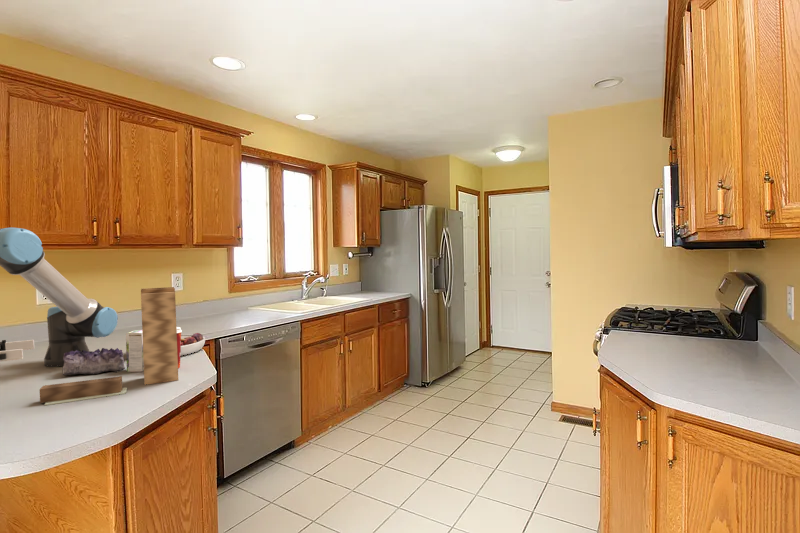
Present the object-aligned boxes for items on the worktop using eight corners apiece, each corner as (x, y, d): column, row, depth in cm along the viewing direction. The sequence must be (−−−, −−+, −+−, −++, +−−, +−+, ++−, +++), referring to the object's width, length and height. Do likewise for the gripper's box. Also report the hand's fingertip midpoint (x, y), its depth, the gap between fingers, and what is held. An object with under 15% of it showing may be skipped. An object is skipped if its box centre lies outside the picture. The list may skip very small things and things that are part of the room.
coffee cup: (188, 366, 169) (186, 327, 169) (170, 372, 162) (169, 331, 161) (171, 364, 172) (169, 326, 172) (153, 370, 164) (151, 330, 164)
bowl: (118, 364, 175) (117, 344, 174) (137, 348, 203) (136, 331, 203) (201, 357, 184) (200, 338, 184) (208, 343, 213) (207, 326, 212)
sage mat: (44, 405, 128) (44, 404, 128) (48, 399, 133) (48, 398, 133) (126, 393, 138) (125, 392, 138) (126, 388, 143) (126, 387, 143)
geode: (129, 365, 173) (128, 340, 172) (121, 377, 162) (120, 351, 161) (67, 368, 167) (66, 342, 165) (54, 381, 156) (53, 353, 154)
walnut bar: (40, 402, 129) (39, 389, 129) (44, 398, 133) (43, 385, 133) (120, 392, 138) (120, 379, 138) (122, 388, 142) (121, 376, 142)
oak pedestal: (144, 384, 147) (140, 290, 145) (144, 377, 155) (141, 288, 154) (178, 380, 152) (175, 288, 150) (176, 373, 160) (173, 286, 159)
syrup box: (134, 368, 168) (132, 330, 167) (150, 367, 168) (149, 329, 168) (126, 372, 162) (124, 332, 162) (143, 371, 163) (141, 332, 162)
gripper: (-54, 362, 129) (38, 352, 140) (-96, 386, 108) (18, 372, 118) (-56, 337, 129) (37, 328, 139) (-98, 355, 107) (16, 344, 117)
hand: (28, 348), depth 129 cm, fingers open, 13 cm apart
